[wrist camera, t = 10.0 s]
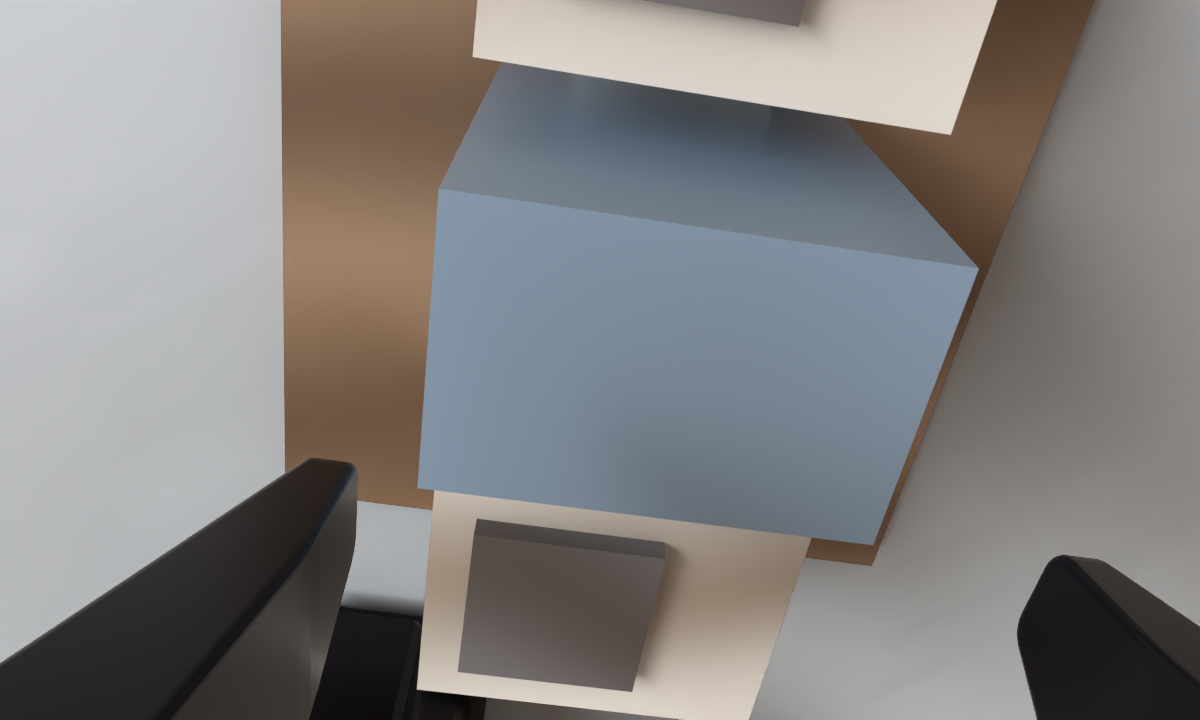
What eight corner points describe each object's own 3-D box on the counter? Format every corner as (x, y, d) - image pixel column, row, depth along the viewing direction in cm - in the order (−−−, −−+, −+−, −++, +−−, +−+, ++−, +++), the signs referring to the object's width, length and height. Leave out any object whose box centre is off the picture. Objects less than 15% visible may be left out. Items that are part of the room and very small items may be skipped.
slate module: (782, 312, 18) (873, 545, 12) (482, 269, 18) (417, 487, 12) (838, 112, 16) (978, 268, 10) (502, 60, 16) (438, 188, 10)
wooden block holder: (861, 538, 23) (954, 787, 17) (297, 465, 22) (179, 701, 16) (1167, -267, 15) (1559, -352, 9) (296, -441, 14) (54, -675, 8)
